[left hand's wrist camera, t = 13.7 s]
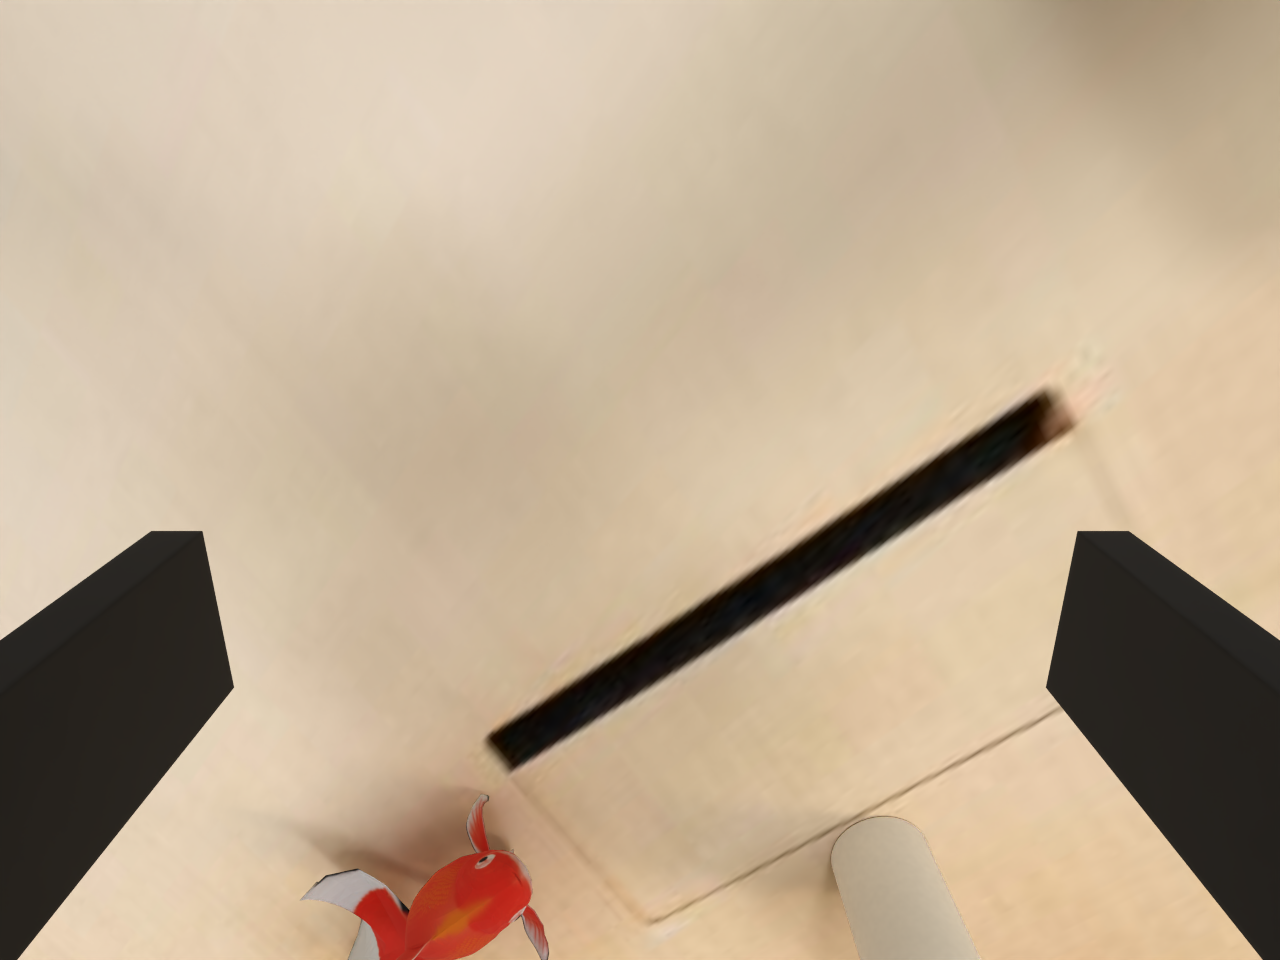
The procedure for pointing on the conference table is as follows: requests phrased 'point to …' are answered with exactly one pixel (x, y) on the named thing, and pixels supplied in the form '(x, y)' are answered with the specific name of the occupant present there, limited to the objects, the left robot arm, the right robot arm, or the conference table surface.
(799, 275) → the conference table surface
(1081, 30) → the conference table surface
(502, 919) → the fish
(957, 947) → the cylinder
